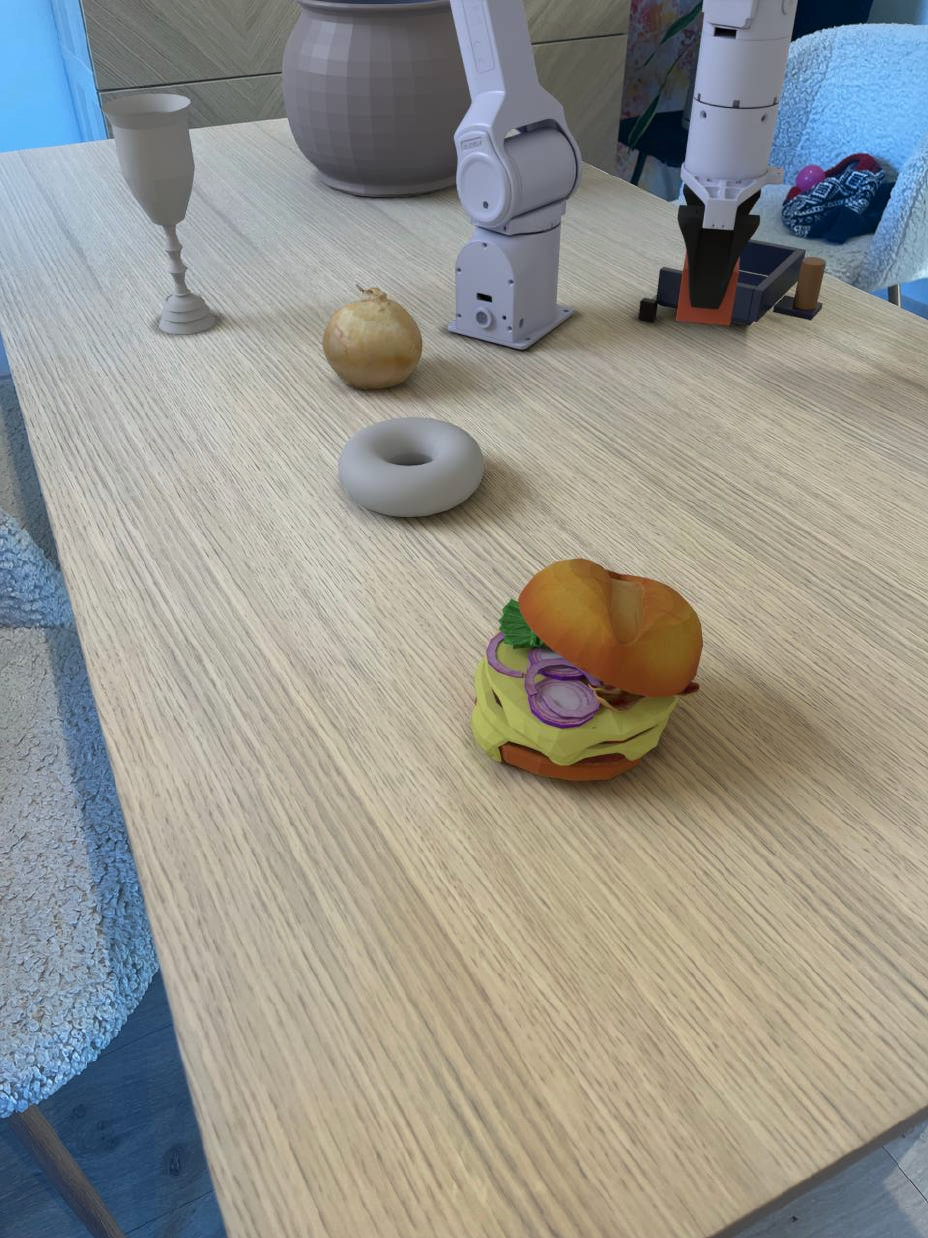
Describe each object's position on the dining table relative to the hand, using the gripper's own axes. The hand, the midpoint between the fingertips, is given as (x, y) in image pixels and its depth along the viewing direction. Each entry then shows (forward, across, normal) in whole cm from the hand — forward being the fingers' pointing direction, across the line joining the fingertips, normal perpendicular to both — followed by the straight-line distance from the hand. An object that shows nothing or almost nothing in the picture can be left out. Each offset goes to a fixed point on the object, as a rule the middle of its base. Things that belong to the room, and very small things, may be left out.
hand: (706, 294), depth 77 cm
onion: (+8, -4, +25) cm, 27 cm away
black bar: (+7, +18, +2) cm, 20 cm away
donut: (+8, -20, +18) cm, 28 cm away
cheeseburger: (+8, -40, +4) cm, 40 cm away
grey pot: (+8, +49, +39) cm, 63 cm away
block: (+1, 0, 0) cm, 1 cm away
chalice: (+8, +2, +45) cm, 46 cm away
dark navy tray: (+7, +16, -4) cm, 18 cm away
